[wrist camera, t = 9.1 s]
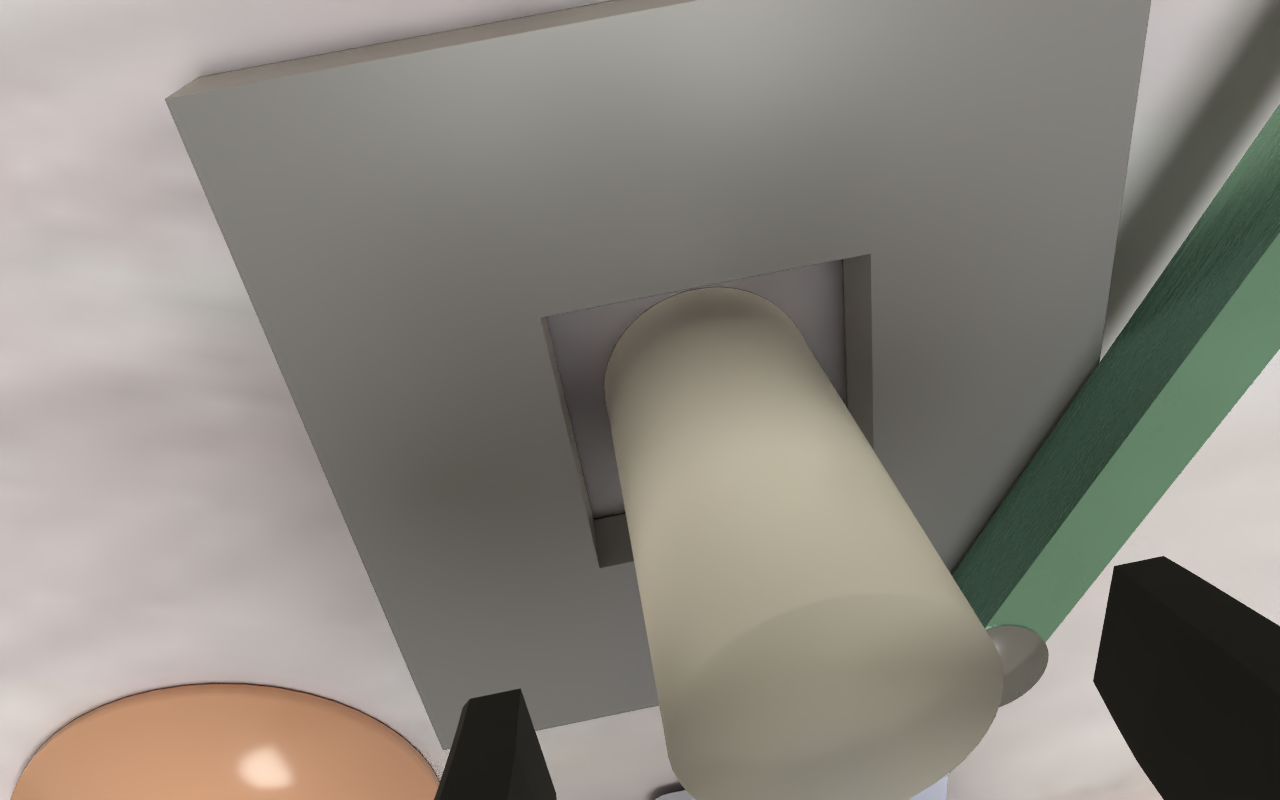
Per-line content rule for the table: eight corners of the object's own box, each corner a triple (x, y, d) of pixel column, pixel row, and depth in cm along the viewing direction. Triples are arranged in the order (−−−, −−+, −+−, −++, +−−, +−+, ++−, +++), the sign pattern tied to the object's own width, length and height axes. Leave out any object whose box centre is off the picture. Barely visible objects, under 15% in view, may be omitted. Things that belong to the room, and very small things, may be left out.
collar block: (1028, 576, 21) (1062, 621, 20) (447, 695, 20) (443, 750, 19) (1102, -90, 14) (1163, -86, 12) (198, 76, 13) (164, 99, 12)
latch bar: (972, 661, 20) (1006, 719, 18) (882, 643, 19) (910, 702, 18) (1648, -235, 12) (1794, -248, 11) (1537, -319, 11) (1676, -344, 10)
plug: (812, 445, 18) (992, 790, 11) (622, 484, 18) (689, 854, 11) (802, 268, 16) (1015, 560, 9) (587, 310, 16) (642, 636, 9)
